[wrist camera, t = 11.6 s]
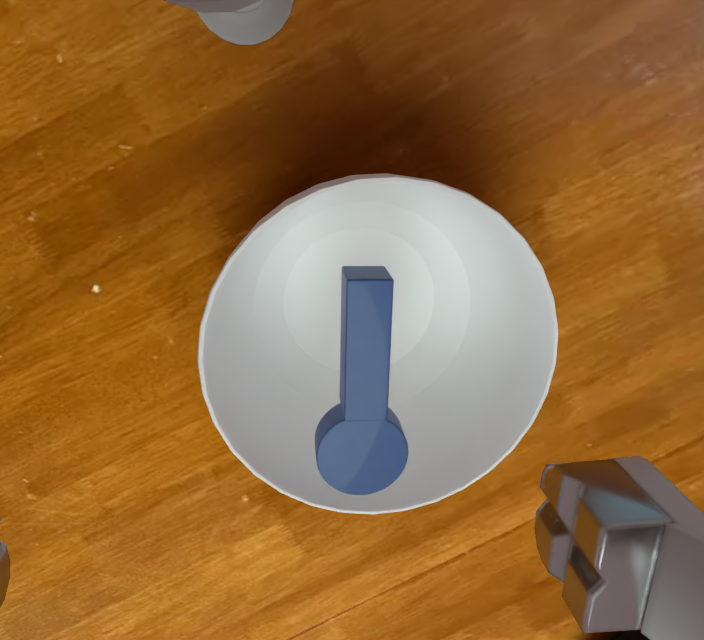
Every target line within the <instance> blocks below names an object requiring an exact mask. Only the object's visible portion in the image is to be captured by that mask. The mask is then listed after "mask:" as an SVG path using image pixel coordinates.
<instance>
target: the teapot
mask: <svg viewBox="0 0 704 640" xmlns="http://www.w3.org/2000/svg"><path fill="white" fill-rule="evenodd" d="M612 640H650V639H648V638H647V637H646V636H645V635H643V634H642V633H641V630H627V631H622V632H621V633H619V634H618V635H616V636H615V637H614V638H613V639H612Z"/></svg>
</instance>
